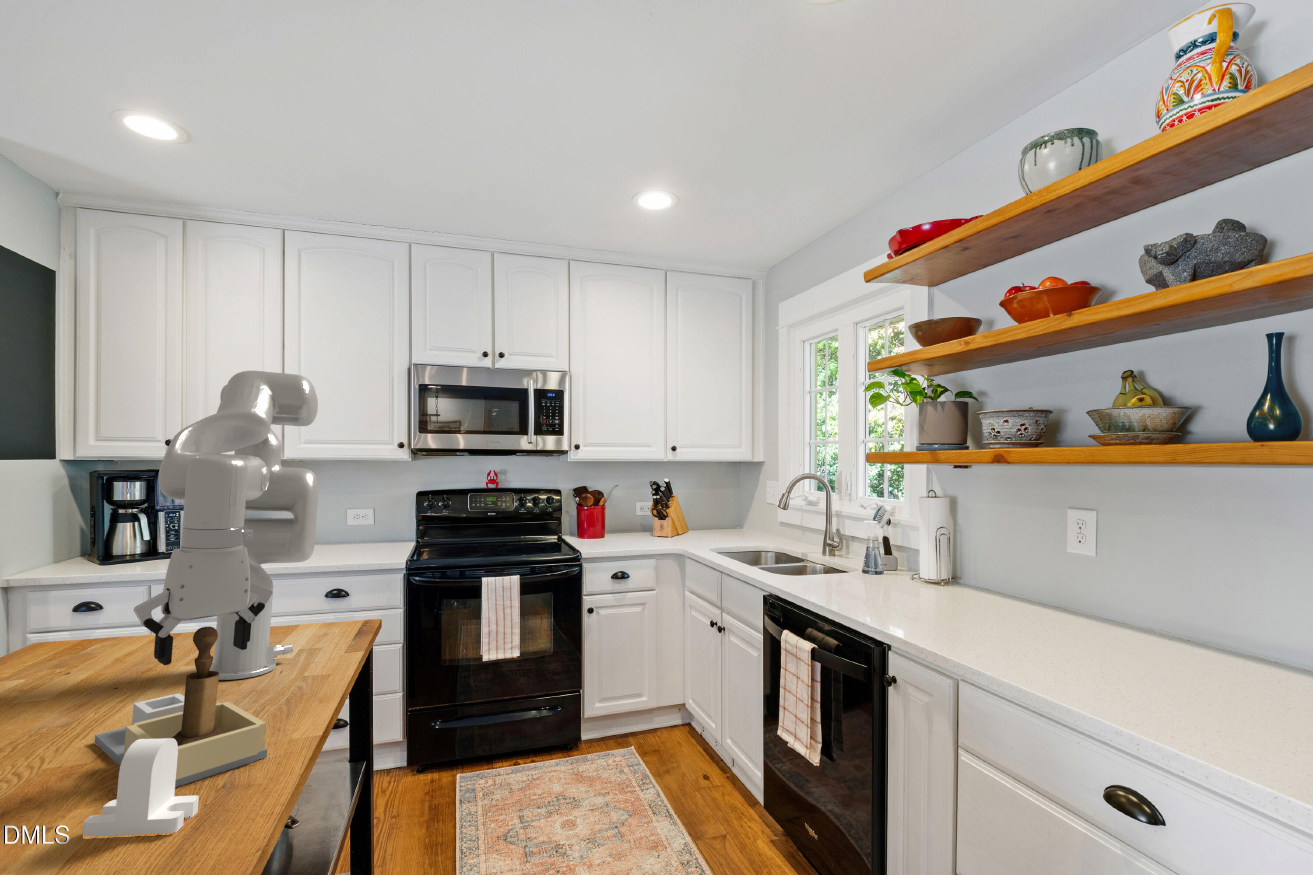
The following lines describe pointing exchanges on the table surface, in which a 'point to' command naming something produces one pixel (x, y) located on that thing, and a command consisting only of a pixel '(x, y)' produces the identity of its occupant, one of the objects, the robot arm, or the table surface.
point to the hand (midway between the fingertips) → (203, 654)
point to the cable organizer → (145, 794)
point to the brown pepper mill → (200, 693)
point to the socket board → (196, 757)
